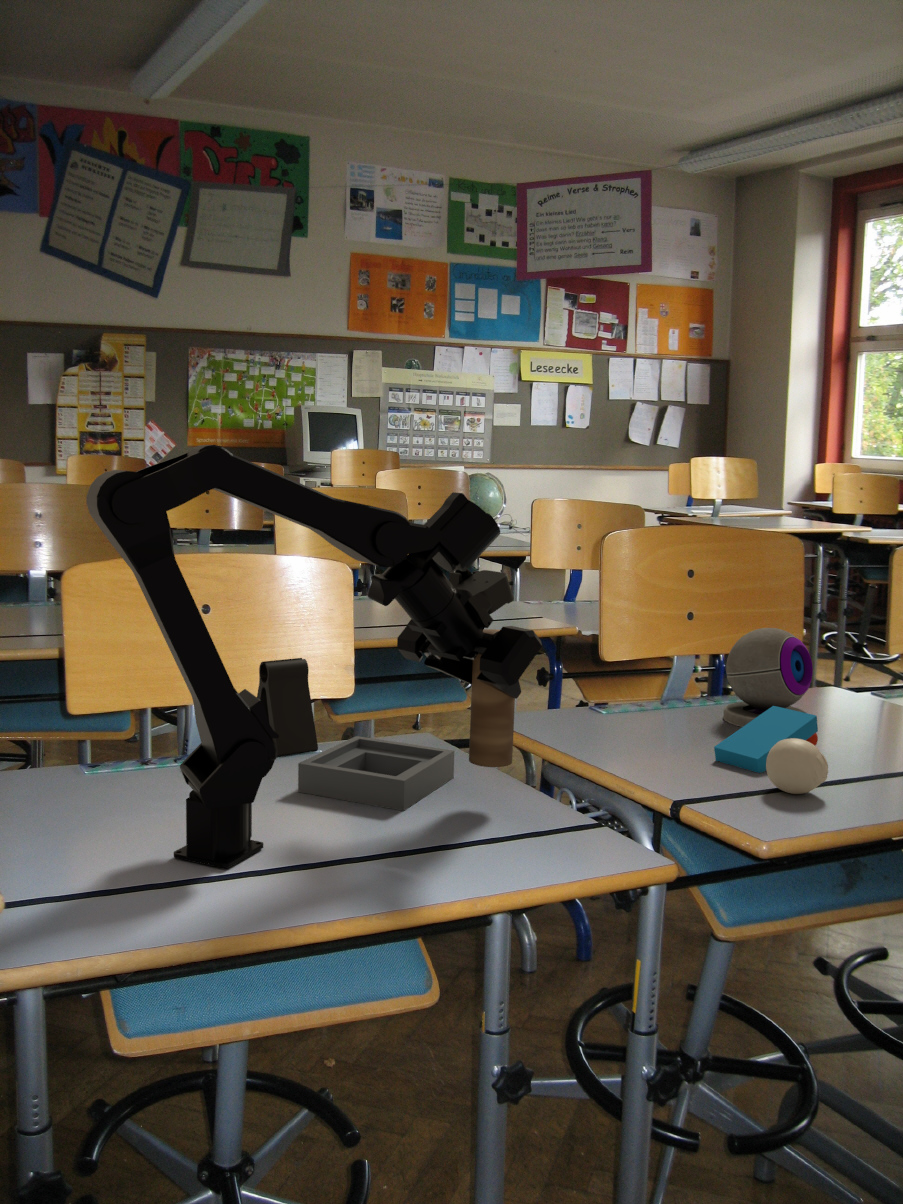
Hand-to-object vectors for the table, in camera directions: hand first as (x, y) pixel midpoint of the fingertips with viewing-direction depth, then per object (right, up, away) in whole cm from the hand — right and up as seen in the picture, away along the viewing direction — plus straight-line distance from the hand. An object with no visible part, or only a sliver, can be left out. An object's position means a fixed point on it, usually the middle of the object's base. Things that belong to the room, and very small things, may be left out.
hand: (502, 690), depth 117 cm
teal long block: (+39, -12, +24) cm, 48 cm away
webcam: (+44, -9, +44) cm, 63 cm away
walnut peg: (-1, -8, 0) cm, 8 cm away
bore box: (-15, -12, +7) cm, 20 cm away
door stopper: (-29, -10, +23) cm, 38 cm away
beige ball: (+37, -13, +8) cm, 40 cm away
